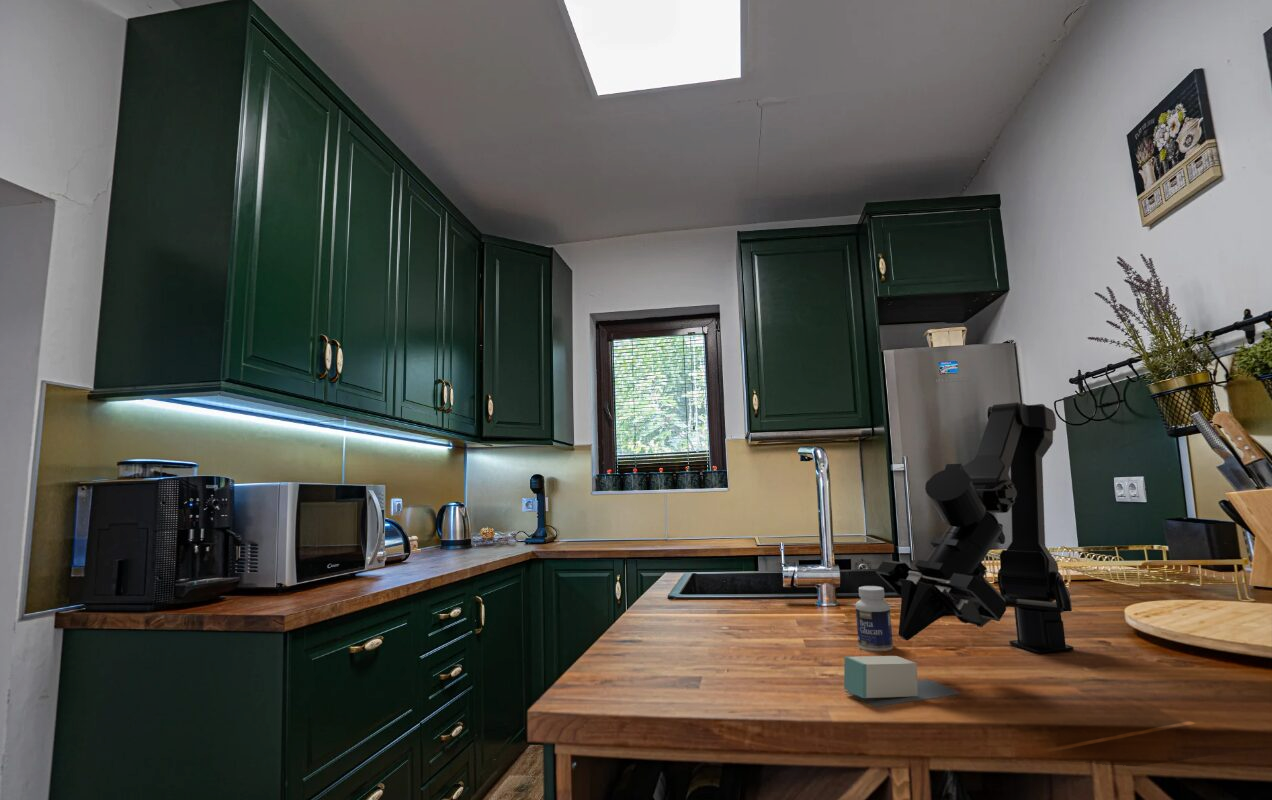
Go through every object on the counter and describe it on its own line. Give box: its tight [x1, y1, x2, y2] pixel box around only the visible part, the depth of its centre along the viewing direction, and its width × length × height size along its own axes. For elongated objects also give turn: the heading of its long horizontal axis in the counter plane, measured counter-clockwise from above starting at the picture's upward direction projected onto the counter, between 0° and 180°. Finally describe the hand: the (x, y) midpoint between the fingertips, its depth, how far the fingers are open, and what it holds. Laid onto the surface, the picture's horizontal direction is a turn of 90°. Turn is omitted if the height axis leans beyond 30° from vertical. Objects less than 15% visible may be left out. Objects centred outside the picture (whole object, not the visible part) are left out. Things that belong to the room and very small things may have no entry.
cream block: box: [843, 655, 918, 698], centre depth 86 cm, size 4×4×8 cm
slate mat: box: [844, 678, 964, 708], centre depth 86 cm, size 13×7×1 cm, turn 106°
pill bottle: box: [855, 585, 894, 652], centre depth 110 cm, size 5×5×10 cm
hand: (902, 637), depth 87 cm, fingers closed
